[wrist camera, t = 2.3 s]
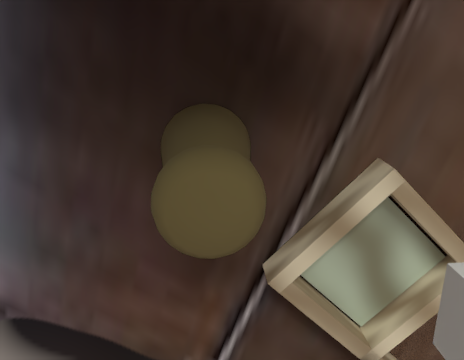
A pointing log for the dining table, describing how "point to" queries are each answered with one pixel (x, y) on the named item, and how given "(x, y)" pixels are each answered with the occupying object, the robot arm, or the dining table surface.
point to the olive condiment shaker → (207, 184)
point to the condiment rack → (368, 264)
